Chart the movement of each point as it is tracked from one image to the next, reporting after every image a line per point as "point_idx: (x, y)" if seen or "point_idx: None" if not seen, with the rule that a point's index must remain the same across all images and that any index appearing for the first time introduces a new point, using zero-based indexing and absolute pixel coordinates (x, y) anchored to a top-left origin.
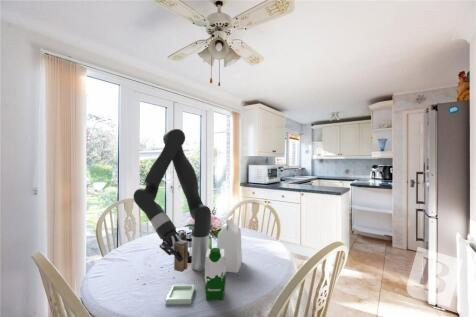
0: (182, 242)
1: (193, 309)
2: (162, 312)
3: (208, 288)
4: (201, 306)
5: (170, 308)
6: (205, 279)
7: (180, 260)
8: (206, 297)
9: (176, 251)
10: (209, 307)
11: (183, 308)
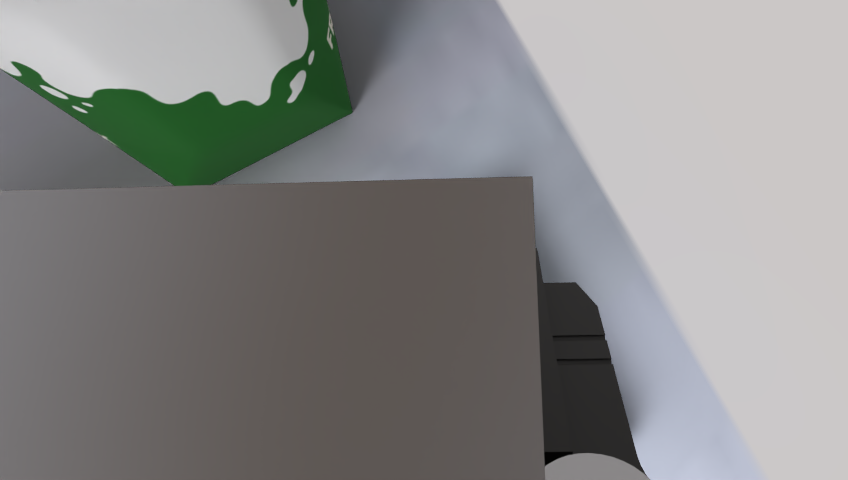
0: (252, 391)
1: (528, 141)
2: (717, 395)
3: (326, 31)
4: (455, 99)
5: (630, 362)
6: (289, 42)
7: None
8: (347, 99)
9: (638, 476)
10: (432, 24)
11: (564, 239)
